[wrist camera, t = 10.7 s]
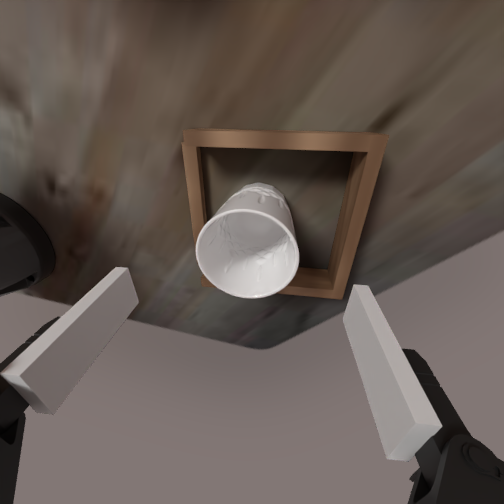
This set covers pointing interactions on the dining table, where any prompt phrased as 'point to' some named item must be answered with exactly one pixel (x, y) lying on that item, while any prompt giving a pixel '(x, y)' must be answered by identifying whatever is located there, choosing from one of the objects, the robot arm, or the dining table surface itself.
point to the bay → (362, 143)
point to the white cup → (250, 243)
